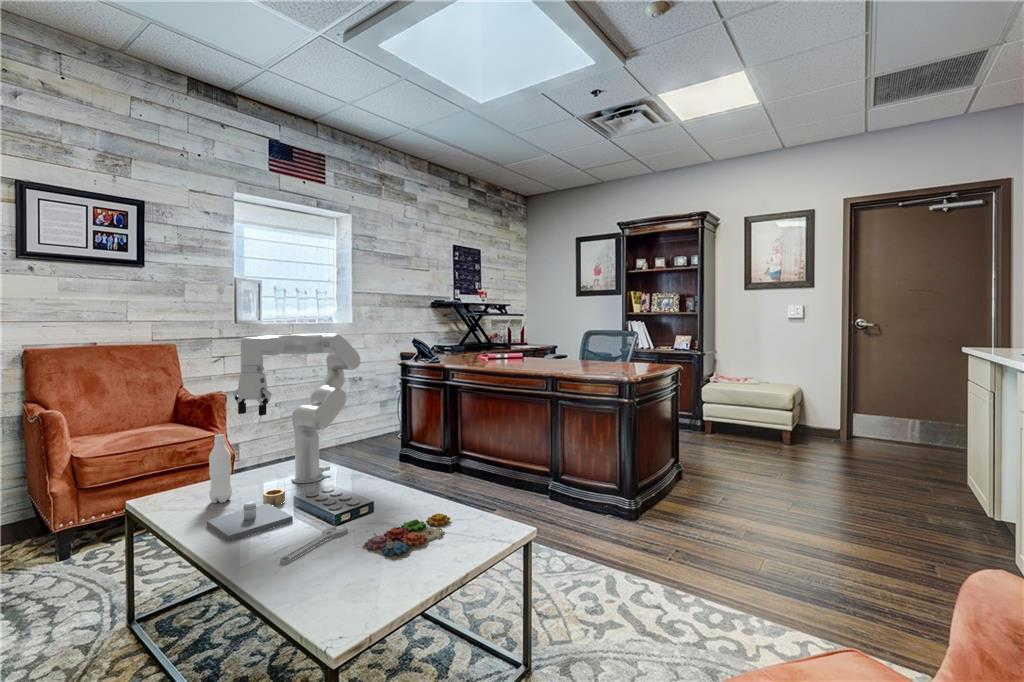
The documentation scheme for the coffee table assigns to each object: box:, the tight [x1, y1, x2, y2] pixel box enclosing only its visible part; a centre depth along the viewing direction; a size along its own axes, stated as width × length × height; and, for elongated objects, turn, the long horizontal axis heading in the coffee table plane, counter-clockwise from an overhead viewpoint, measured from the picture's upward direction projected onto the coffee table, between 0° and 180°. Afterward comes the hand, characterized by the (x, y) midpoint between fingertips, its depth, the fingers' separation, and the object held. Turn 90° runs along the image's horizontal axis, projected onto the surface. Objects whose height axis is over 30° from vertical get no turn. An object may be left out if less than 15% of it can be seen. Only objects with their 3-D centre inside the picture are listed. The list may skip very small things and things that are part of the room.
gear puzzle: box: [361, 512, 451, 561], centre depth 159 cm, size 31×16×4 cm, turn 146°
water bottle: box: [208, 433, 233, 504], centre depth 188 cm, size 7×7×25 cm
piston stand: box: [206, 500, 294, 543], centre depth 167 cm, size 20×18×7 cm
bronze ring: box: [262, 488, 286, 506], centre depth 187 cm, size 7×7×4 cm
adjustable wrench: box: [279, 525, 348, 565], centre depth 153 cm, size 25×6×2 cm, turn 154°
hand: (252, 414), depth 192 cm, fingers open, 9 cm apart
